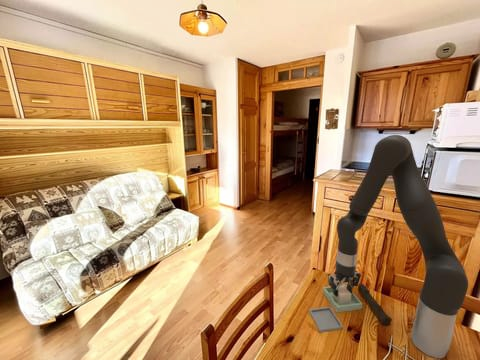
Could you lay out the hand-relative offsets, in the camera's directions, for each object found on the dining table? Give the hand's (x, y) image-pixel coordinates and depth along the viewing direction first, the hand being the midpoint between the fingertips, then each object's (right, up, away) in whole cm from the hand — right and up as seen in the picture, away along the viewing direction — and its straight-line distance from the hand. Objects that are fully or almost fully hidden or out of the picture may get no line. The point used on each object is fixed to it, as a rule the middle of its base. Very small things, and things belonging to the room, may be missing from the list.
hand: (342, 294), depth 91 cm
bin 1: (-11, -6, -8) cm, 15 cm away
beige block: (0, -3, +1) cm, 3 cm away
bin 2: (0, -3, +1) cm, 3 cm away
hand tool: (+11, -4, -2) cm, 12 cm away
